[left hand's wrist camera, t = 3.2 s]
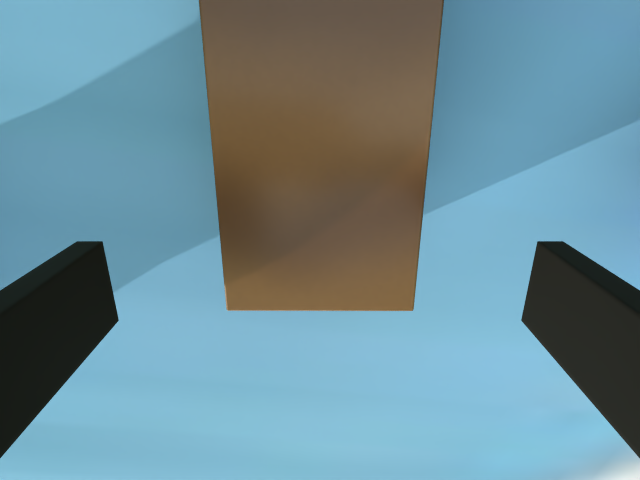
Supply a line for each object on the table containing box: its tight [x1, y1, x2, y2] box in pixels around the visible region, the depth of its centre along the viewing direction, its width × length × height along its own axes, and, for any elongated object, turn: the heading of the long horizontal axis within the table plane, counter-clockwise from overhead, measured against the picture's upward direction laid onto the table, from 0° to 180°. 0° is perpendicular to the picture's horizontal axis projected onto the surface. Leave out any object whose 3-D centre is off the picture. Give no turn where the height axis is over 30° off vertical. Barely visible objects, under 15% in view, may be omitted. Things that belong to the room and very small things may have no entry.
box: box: [199, 0, 444, 311], centre depth 18 cm, size 23×8×10 cm, turn 0°
